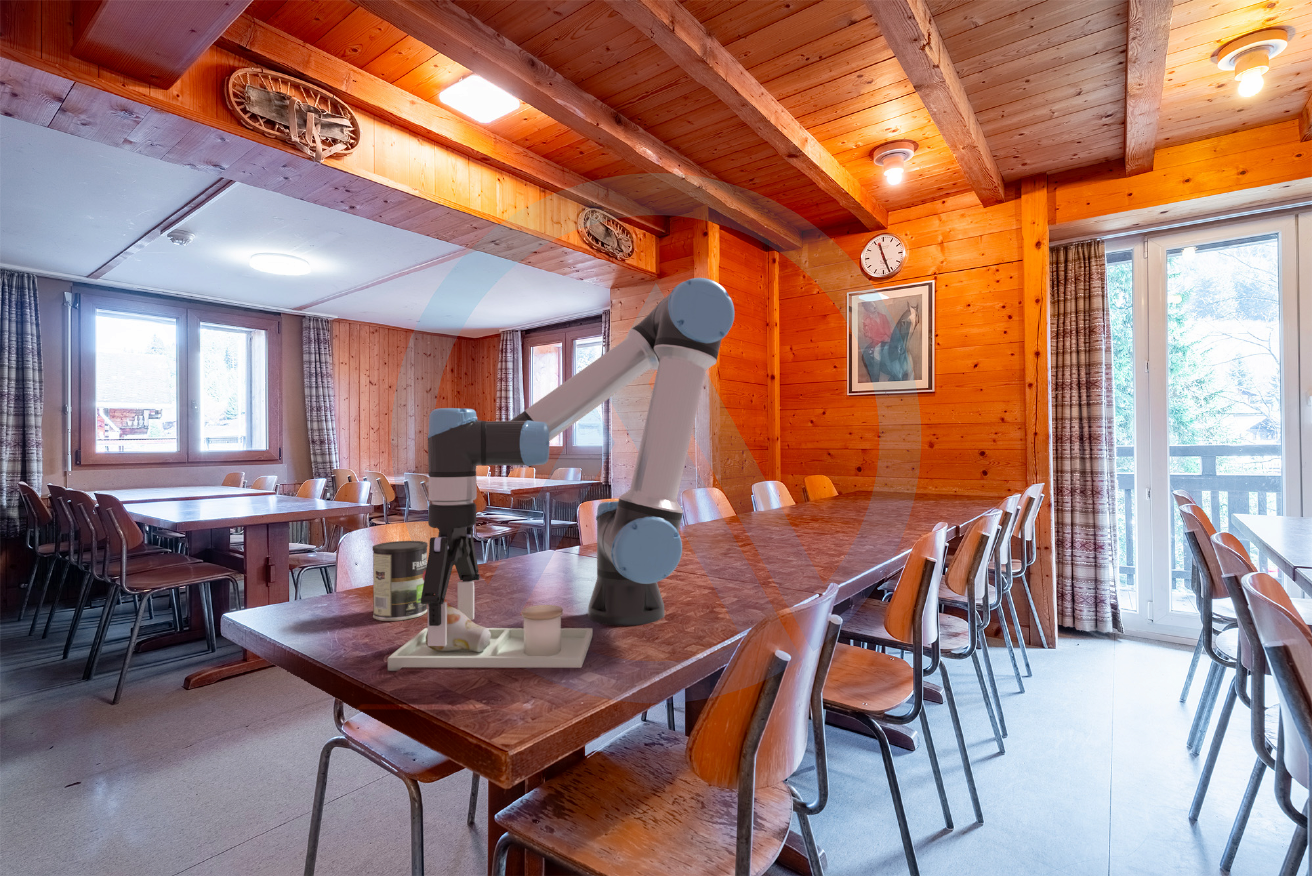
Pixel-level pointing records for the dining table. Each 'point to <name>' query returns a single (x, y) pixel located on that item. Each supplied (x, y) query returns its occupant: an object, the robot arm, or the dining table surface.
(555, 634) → the sugar pot
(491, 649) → the caddy
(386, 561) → the coffee can
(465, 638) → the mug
